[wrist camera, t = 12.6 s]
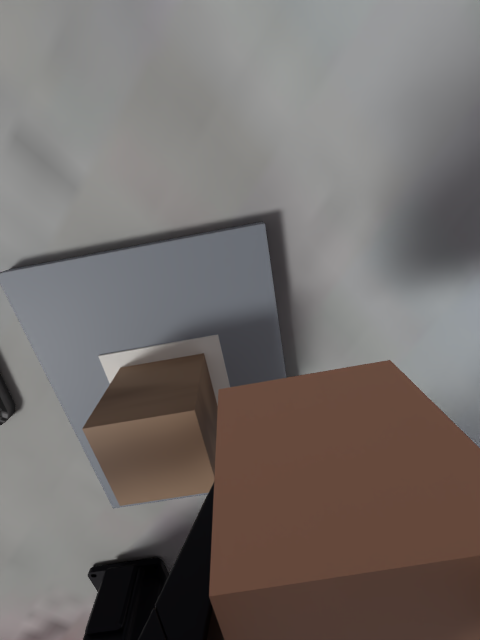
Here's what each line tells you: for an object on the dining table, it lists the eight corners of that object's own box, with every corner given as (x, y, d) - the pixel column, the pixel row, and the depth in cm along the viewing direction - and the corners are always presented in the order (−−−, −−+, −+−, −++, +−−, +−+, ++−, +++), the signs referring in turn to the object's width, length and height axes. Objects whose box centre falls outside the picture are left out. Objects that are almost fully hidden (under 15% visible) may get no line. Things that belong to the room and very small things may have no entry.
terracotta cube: (388, 485, 11) (515, 708, 6) (246, 507, 11) (261, 743, 6) (390, 360, 9) (574, 540, 4) (218, 389, 9) (209, 596, 4)
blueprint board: (298, 468, 23) (301, 481, 22) (117, 496, 24) (112, 509, 23) (263, 221, 16) (265, 223, 15) (8, 269, 17) (-7, 274, 16)
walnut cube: (221, 420, 20) (218, 490, 15) (145, 432, 20) (120, 505, 15) (204, 353, 18) (194, 410, 13) (120, 367, 18) (82, 428, 13)
